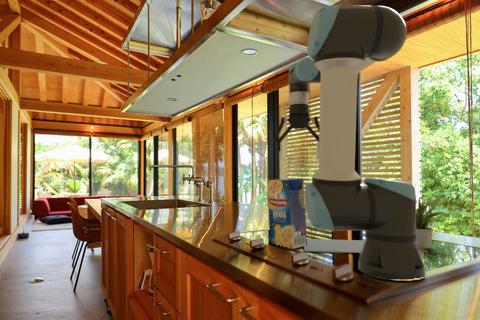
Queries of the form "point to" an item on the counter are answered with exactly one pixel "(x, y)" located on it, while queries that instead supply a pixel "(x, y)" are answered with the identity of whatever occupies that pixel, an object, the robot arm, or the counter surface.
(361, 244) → the light grey flat slab
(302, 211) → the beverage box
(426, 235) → the house plant
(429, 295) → the counter surface
